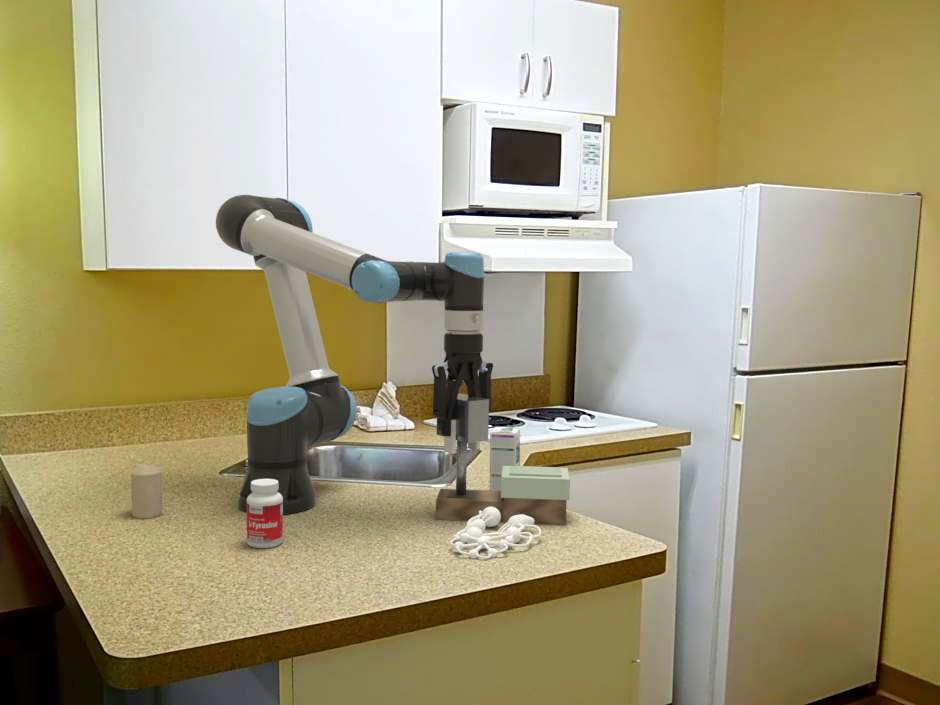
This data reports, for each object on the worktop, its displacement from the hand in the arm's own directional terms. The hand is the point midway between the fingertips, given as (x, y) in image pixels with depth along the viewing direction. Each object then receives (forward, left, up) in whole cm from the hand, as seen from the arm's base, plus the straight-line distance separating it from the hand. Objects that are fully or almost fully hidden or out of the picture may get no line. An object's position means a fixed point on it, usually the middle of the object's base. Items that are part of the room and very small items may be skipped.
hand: (461, 450), depth 165 cm
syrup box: (+8, +15, -13) cm, 22 cm away
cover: (+14, 0, -8) cm, 16 cm away
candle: (-60, -8, -13) cm, 62 cm away
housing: (+8, 0, -13) cm, 15 cm away
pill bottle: (-33, -21, -13) cm, 41 cm away
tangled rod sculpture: (+8, -15, -13) cm, 22 cm away
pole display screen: (0, 0, -9) cm, 9 cm away
